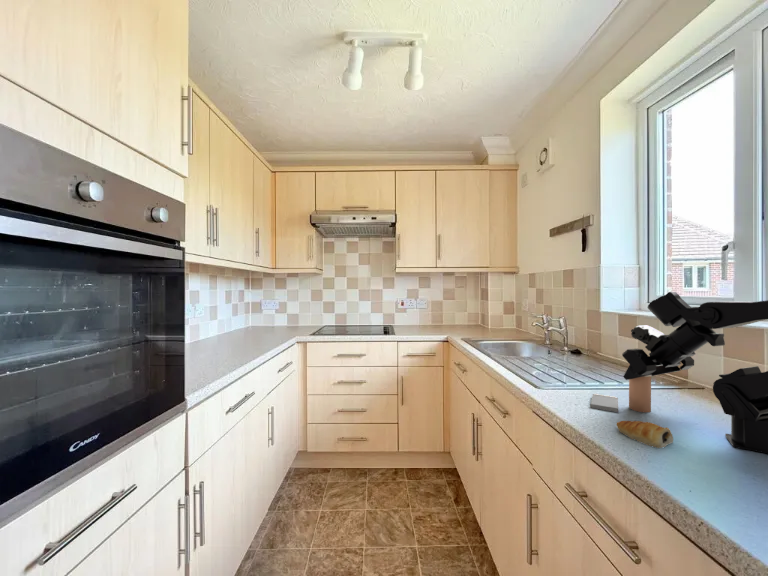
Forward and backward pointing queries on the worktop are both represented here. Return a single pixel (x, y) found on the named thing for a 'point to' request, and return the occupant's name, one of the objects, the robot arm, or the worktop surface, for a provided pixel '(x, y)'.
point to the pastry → (646, 433)
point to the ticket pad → (604, 402)
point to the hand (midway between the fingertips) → (634, 377)
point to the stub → (640, 394)
